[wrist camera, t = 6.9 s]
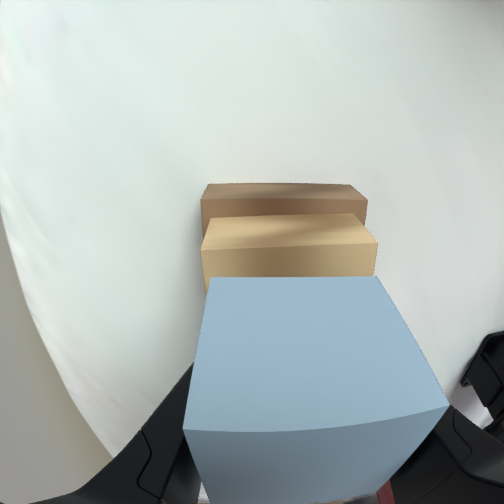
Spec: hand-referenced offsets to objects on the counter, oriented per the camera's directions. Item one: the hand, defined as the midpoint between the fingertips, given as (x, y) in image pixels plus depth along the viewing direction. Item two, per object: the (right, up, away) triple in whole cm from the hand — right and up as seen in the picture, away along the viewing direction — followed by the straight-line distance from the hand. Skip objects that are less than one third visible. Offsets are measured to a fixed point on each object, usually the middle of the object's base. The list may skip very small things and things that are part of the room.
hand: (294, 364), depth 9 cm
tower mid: (0, +2, +5) cm, 6 cm away
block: (0, +1, +1) cm, 1 cm away
